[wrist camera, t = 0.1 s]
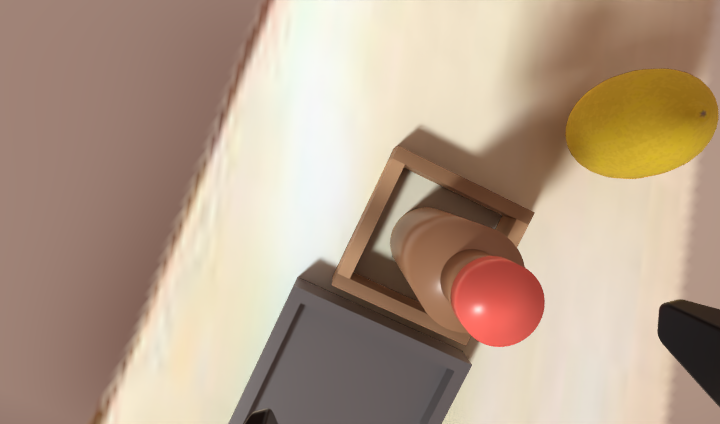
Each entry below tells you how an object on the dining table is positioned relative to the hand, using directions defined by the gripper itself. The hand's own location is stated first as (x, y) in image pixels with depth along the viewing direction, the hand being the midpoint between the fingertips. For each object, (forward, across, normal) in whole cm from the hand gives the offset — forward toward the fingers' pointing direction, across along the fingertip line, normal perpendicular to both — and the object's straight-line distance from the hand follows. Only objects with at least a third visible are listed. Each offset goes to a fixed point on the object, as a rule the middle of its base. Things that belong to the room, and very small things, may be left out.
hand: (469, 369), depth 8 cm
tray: (+12, +7, +14) cm, 20 cm away
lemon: (+16, -14, 0) cm, 21 cm away
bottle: (+15, -2, +4) cm, 16 cm away
